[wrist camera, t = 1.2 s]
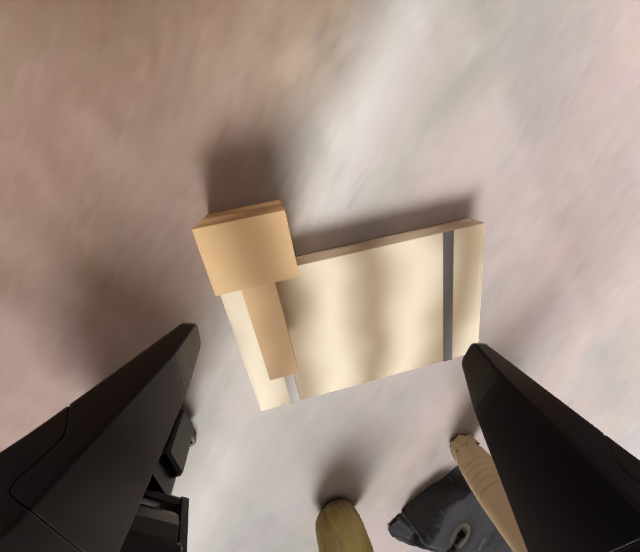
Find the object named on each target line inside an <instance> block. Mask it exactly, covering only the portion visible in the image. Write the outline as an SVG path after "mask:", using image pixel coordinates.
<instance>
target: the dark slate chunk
mask: <svg viewBox="0 0 640 552" xmlns="http://www.w3.org/2000/svg"><path fill="white" fill-rule="evenodd" d="M396 519H397V521H395V522H394V523H393V524H392V525H391V526H390V527H389V528H388V530H389V532H390V534H391V536H392V537H394V538H396V539H397V540H399V541H401V542H404V543H406V544H408V545H412V546H417V547H419V548H422V549H426V550H430V551H433V552H513V551H512V549H511V548H510V547H509V545H508V544H507V542H506V541H505V539H504V538H503V536H502V535H501V534H500V532H499V531H498V529H497V528H496V526H495V525H494V524H493V522H492V521H491V519H490V518H489V516H488V515H487V513H486V512H485V511H484V509H483V508H482V506H481V504H480V503H479V502H478V500H477V498H476V496H475V495H474V494H473V492H472V490H471V489H470V487H469V485H468V483H467V482H466V480H465V478H464V476H463V474H462V472H461V471H460V468H459V466H456V467H455V468H454V469H453V470H452V471H451V472H450V473H449V474H447V475H446V476H445V477H444V478H442V479H441V480H440V481H439V482H437V483H435V484H432V485H430V486H429V487H428V488H426V489H425V490H424V491H422V492H421V493H420V494H419V495H418V496H417V497H415V498H414V499H413V500H412V501H411V502H409V503H408V504H407V505H406V507H405V509H404V510H403V511H402V512H401V514H400V515H399V516H398V517H396Z"/></svg>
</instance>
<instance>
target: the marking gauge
mask: <svg viewBox="0 0 640 552" xmlns="http://www.w3.org/2000/svg"><path fill="white" fill-rule="evenodd" d="M192 232H193V235H194V237H195V240H196V243H197V246H198V248H199V251H200V254H201V257H202V260H203V262H204V265H205V268H206V271H207V273H208V276H209V279H210V282H211V284H212V287H213V290H214V293H215V296H218V295H222V294H227V293H231V292H235V291H240V290H241V291H242V294H243V297H244V300H245V303H246V306H247V309H248V313H249V316H250V319H251V322H252V325H253V328H254V332H255V335H256V338H257V341H258V344H259V347H260V350H261V354H262V357H263V360H264V363H265V366H266V369H267V372H268V376H269V379H270V380H274V379H277V378H281V377H285V376H288V375H292V374H296V373H299V372H298V366H297V361H296V357H295V353H294V349H293V345H292V342H291V338H290V334H289V330H288V326H287V322H286V318H285V315H284V311H283V307H282V303H281V299H280V295H279V291H278V288H277V284H276V282H278V281H282V280H287V279H291V278H295V277H299V272H298V267H297V263H296V258H295V254H294V249H293V245H292V240H291V236H290V231H289V227H288V222H287V218H286V213H285V209H284V207H283V205H282V203H281V200H280V199H279V200H274V201H269V202H264V203H259V204H254V205H249V206H244V207H240V208H235V209H230V210H225V211H220V212H215V213H210V214H208V215H207V216H206V217H205V218H203V219H202V220H201V221H200V222H199V223H198V224H197V225H196V226H195V227H194V228H193V229H192Z"/></svg>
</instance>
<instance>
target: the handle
mask: <svg viewBox="0 0 640 552" xmlns="http://www.w3.org/2000/svg"><path fill="white" fill-rule="evenodd" d="M479 444H480V443H479V442H478V441H477V440H476V439H475V438H474V437H473V436H472V435H469V434H468V435H458V436H457V437H456V438H455V439H454V440H453V441H451V442H450V446H451V453H452V455H453V457H454V459H455V461H456V462H457V464H458V466H459V468H460V471H461V472H462V474H463V476H464V478H465V480H466V482H467V483H468V485H469V487H470V489H471V490H472V492H473V494H474V495H475V496H476V498H477V500H478V502H479V503H480V504H481V506H482V508H483V509H484V511H485V512H486V513H487V515H488V516H489V518H490V519H491V521H492V522H493V524H494V525H495V526H496V528H497V529H498V531H499V532H500V534H501V535H502V536H503V538H504V539H505V541H506V542H507V544H508V545H509V547H510V548H511V549H512V551H513V552H528V551H527V549H526V546H525V544H524V541H523V538H522V536H521V533H520V530H519V528H518V525H517V522H516V520H515V517H514V514H513V512H512V509H511V507H510V504H509V501H508V499H507V496H506V493H505V491H504V488H503V485H502V483H501V480H500V477H499V475H498V472H497V470H496V467H495V464H494V462H493V459H492V457H491V456H490V455H489V454H488V453H487V452H486V451H485V450H484V449H483V448H482V447H481V446H479Z"/></svg>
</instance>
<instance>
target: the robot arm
mask: <svg viewBox="0 0 640 552" xmlns="http://www.w3.org/2000/svg"><path fill="white" fill-rule="evenodd" d="M200 344H201V342H200V337H199V331H198V327H197V325H196V324H194V323H182V324H180V325H179V326H178V327H176V328H175V329H173V330H172V331H171V332H169V333H168V334H166V335H165V336H164V337H162V338H161V339H160V340H158V341H157V342H155V343H154V344H153V345H151V346H150V347H149V348H147V349H146V350H144V351H143V352H142V353H140V354H139V355H137V356H136V357H135V358H133V359H132V360H131V361H129V362H128V363H126V364H125V365H124V366H122V367H121V368H120V369H118V370H117V371H115V372H114V373H113V374H111V375H110V376H109V377H107V378H106V379H104V380H103V381H102V382H100V383H99V384H97V385H96V386H95V387H93V388H92V389H91V390H89V391H88V392H86V393H85V394H84V395H82V396H81V397H80V398H78V399H77V400H75V401H74V402H73V403H71V404H70V406H69V407H66V408H64V409H63V410H61V411H60V412H59V413H57V414H56V415H54V416H53V417H52V418H50V419H49V420H47V421H46V422H45V423H43V424H42V425H40V426H39V427H37V428H36V429H35V430H33V431H32V432H30V433H29V434H27V435H26V436H25V437H23V438H22V439H20V440H18V441H17V442H15V443H14V444H12V445H11V446H9V447H8V448H6V449H5V450H3V451H2V452H0V552H187V534H188V509H189V498H186V497H181V498H180V497H177V496H173V495H171V494H172V490H173V487H174V483H175V479H176V477H178V476H181V474H182V473H183V470H184V466H185V462H186V459H187V455H188V451H189V447H191V446H193V445H194V444H195V443H196V436H195V434H194V428H193V426H192V424H191V422H190V420H189V418H188V416H187V414H186V412H185V410H183V409H182V408H181V406H182V403H183V401H184V398H185V396H186V393H187V390H188V387H189V384H190V380H191V377H192V374H193V370H194V367H195V363H196V360H197V357H198V353H199V350H200ZM462 367H463V371H464V374H465V378H466V382H467V386H468V390H469V393H470V397H471V401H472V404H473V408H474V411H475V414H476V417H477V419H478V422H479V425H480V427H481V430H482V432H483V435H484V438H485V440H486V443H487V446H488V448H489V451H490V454H491V456H492V459H493V462H494V464H495V467H496V470H497V472H498V475H499V477H500V480H501V483H502V485H503V488H504V491H505V493H506V496H507V499H508V501H509V504H510V507H511V509H512V512H513V514H514V517H515V520H516V522H517V525H518V528H519V530H520V533H521V536H522V538H523V541H524V544H525V546H526V549H527V551H528V552H640V460H638V459H637V458H636V457H634V456H633V455H632V454H630V453H629V452H628V451H626V450H625V449H623V448H622V447H621V446H620V445H618V444H617V443H616V442H614V441H613V440H612V439H610V438H609V437H608V436H606V435H604V434H603V433H602V432H601V431H600V430H598V429H597V428H596V427H594V426H593V425H592V424H591V423H589V422H588V421H587V420H585V419H584V418H583V417H581V416H580V415H579V414H577V413H576V412H575V411H573V410H572V409H571V408H569V407H568V406H567V405H565V404H564V403H563V402H562V401H560V400H559V399H558V398H556V397H555V396H554V395H552V394H551V393H550V392H548V391H547V390H546V389H544V388H543V387H542V386H540V385H539V384H538V383H537V382H535V381H534V380H533V379H531V378H530V377H529V376H527V375H526V374H525V373H523V372H522V371H521V370H519V369H518V368H517V367H515V366H514V365H513V364H512V363H510V362H509V361H508V360H506V359H505V358H504V357H502V356H501V355H500V354H498V353H497V352H496V351H494V350H493V349H492V348H490V347H489V346H488V345H486V344H483V343H472V344H471V345H470V346H469V348H468V350H467V352H466V354H465V355H464V357H463V360H462Z"/></svg>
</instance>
